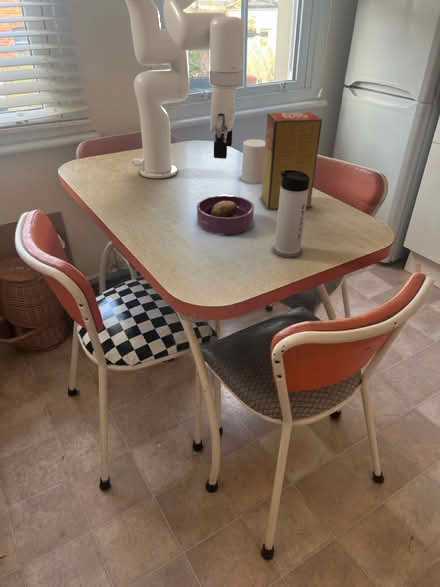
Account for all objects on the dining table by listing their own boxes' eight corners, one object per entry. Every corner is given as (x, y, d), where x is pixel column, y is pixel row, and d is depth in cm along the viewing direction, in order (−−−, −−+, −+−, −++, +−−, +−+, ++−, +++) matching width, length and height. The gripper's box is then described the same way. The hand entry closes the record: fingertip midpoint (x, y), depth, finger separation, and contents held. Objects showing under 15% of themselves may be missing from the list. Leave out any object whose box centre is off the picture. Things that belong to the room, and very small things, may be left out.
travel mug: (270, 245, 111) (278, 167, 100) (296, 245, 112) (306, 167, 100) (275, 258, 106) (283, 177, 95) (302, 257, 107) (313, 177, 95)
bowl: (192, 233, 116) (192, 215, 113) (202, 209, 128) (202, 193, 125) (250, 238, 114) (251, 220, 111) (254, 213, 127) (256, 197, 124)
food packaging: (301, 195, 138) (312, 111, 124) (311, 207, 130) (324, 119, 116) (260, 197, 136) (266, 112, 122) (267, 210, 129) (275, 120, 114)
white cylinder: (265, 175, 152) (268, 139, 145) (265, 184, 146) (268, 147, 139) (242, 174, 153) (244, 138, 146) (240, 182, 146) (242, 146, 139)
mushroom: (247, 207, 120) (234, 191, 117) (238, 229, 116) (224, 213, 113) (225, 214, 126) (212, 198, 122) (215, 235, 122) (202, 219, 118)
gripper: (215, 71, 111) (213, 140, 121) (202, 85, 97) (202, 162, 107) (245, 73, 110) (241, 142, 120) (236, 87, 96) (233, 164, 106)
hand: (222, 151), depth 113 cm, fingers open, 9 cm apart
